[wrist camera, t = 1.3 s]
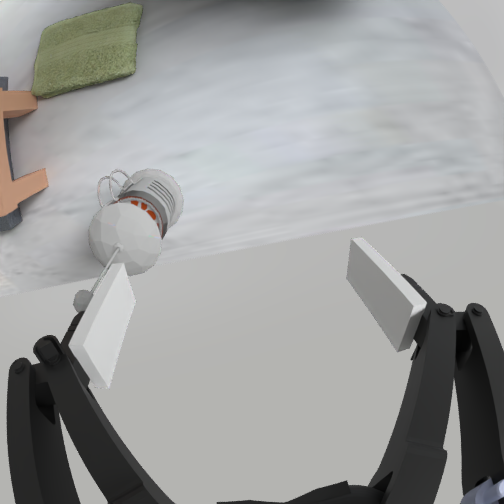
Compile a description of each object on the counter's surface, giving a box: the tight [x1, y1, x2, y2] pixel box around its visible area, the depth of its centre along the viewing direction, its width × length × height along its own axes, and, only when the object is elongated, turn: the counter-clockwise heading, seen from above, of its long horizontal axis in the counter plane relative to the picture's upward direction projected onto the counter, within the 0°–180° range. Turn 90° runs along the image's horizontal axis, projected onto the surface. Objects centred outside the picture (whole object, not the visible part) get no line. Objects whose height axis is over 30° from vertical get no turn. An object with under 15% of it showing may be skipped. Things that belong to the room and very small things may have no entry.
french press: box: [73, 169, 184, 313], centre depth 27 cm, size 10×12×25 cm
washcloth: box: [31, 2, 143, 98], centre depth 25 cm, size 13×18×3 cm
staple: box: [0, 88, 48, 217], centre depth 25 cm, size 17×4×12 cm, turn 3°
